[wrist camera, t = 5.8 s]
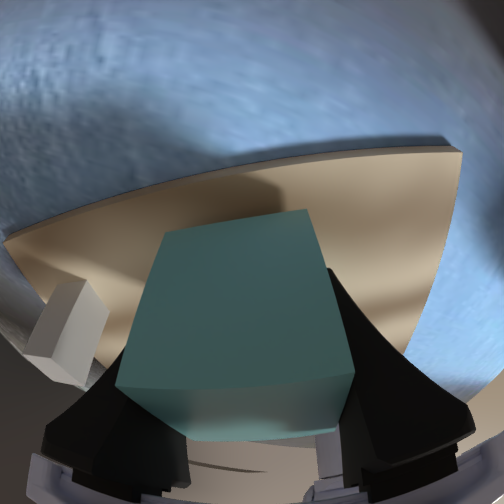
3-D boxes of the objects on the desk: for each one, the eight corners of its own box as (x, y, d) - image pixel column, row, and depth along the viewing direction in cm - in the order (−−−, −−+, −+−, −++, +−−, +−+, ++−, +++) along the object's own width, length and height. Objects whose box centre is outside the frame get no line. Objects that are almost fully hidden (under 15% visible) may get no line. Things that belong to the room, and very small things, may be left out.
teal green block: (312, 305, 13) (334, 431, 8) (204, 318, 13) (192, 440, 8) (306, 208, 9) (355, 372, 5) (165, 232, 10) (114, 386, 5)
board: (400, 346, 19) (403, 354, 18) (124, 375, 22) (122, 382, 21) (452, 145, 9) (462, 152, 9) (9, 234, 12) (2, 242, 11)
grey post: (109, 311, 14) (84, 386, 10) (80, 313, 15) (53, 380, 11) (86, 280, 13) (51, 358, 9) (57, 284, 13) (22, 354, 9)
